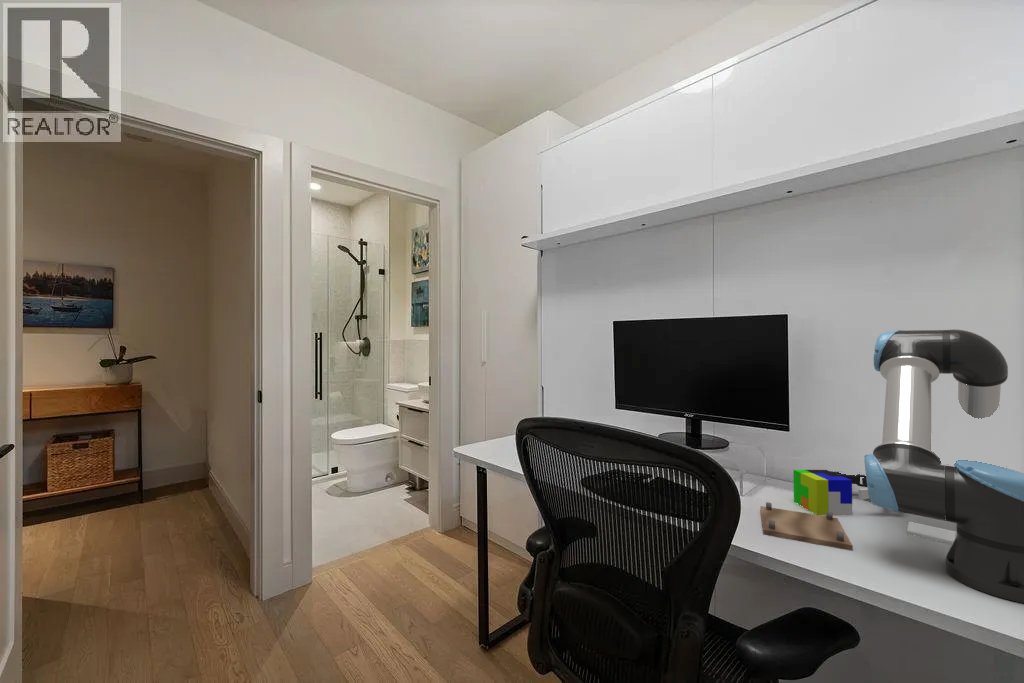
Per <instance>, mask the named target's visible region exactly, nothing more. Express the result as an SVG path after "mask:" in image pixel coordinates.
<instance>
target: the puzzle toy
mask: <svg viewBox="0 0 1024 683" xmlns="http://www.w3.org/2000/svg"><path fill="white" fill-rule="evenodd" d="M795 502H796V503H798V504H799V506H800V505H801V506H800V507H802V506H803V507H802V508H804V509H805V508H806V510H807V509H808V510H807V511H808V512H811V513H812V512H813V513H812V514H815V515H822V516H826V512H827V511H828V512H832V513H833V516H853V484H852V480H850V479H848V478H845V477H843V476H840V475H838V474H835V473H833V472H830V470H828V469H793V503H795ZM796 503H795V504H796ZM798 504H797V505H798Z"/></svg>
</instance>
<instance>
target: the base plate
mask: <svg viewBox="0 0 1024 683" xmlns="http://www.w3.org/2000/svg"><path fill="white" fill-rule="evenodd" d="M772 506H773V503H772V502H769V501H767V502H765V506H764V505H763V506H762V505H760V517H761V525H762V526H761V527H762V534H763V535H766V536H771V537H776V538H782V539H787V540H791V541H792V540H793V541H798V542H804V543H810V544H813V545H814V544H815V545H820V546H825V547H830V548H831V547H832V548H838V549H841V550H846V551H847V550H848V551H854V550H853V548H854V547H853V544H852V542H851V540H850V538H849V536H848V535H847V533H846V531H845V529H844V527H843V525H842V524H841V522H840V520H839V519H838V517H834V515H833V513H832V512H828V511H827V512H826V515H816V514H814V513H807V512H803V511H802V512H801V511H795V510H788V509H782V508H776V507H772Z"/></svg>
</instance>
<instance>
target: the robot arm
mask: <svg viewBox="0 0 1024 683" xmlns="http://www.w3.org/2000/svg"><path fill="white" fill-rule="evenodd" d="M873 367H874V370H875V371H877V372H879V374H880V375H881V376H882V377H883V379H885V381H886V382H885V383H886V384H885V385H886V386H885V399H884V413H883V423H882V424H883V427H882V440H881V444H878V445H877V446H875V447H874V449H873V450H872V453H869V454H864V456H863V458H864V460H863V461H864V468H865V469H864V470H865V474H861V475H860V474H857V475H856V476H855V475H846V474H841V473H839V472H840V471H834V472H833V471H830V470H829V471H830V472H833V473H835V474H838V475H840V476H843V477H845V478H848V479H850V480H852V485H857V486H858V487H863V488H859V489H858V499H859V500H869V501H870V503H871V504H873V505H874V506H877V507H878V508H883V509H887V510H891V511H892V512H896V513H898V512H899V513H905V514H909V515H914V516H919V517H925V518H929V519H933V520H938V521H944V522H950V523H954V524H956V532H957V535H956V538H955V540H954V542H953V544H951V545H950V548H949V550H948V552H947V553H946V555H945V559H944V561H945V562H944V564H945V566H944V569H945V571H946V573H947V574H948V575H949V576H951V577H952V578H953V579H955V580H957V581H958V582H960V583H963V585H966V586H968V587H970V588H973V589H974V590H977V591H980V592H982V593H985V594H989V595H992V596H995V597H997V598H1000V599H1001V598H1002V599H1005V600H1009V601H1013V602H1017V603H1021V604H1024V473H1023V472H1020V471H1018V470H1014V469H1011V468H1007V467H1006V468H1004V467H1000V466H996V465H992V464H987V463H982V462H977V461H968V460H958V461H956V463H955V464H954V465H946V464H942V463H941V461H940V458H939V457H938V456H937V455H936V454H935V453H934V452H932V451H931V432H932V383H933V382H935V381H936V380H938V378H939V376H940V374H941V375H943V374H944V375H945V374H949V375H950V374H951V375H952V376H953V378H954V380H955V381H957V382H958V383H957V384H958V385H957V388H958V389H957V390H958V391H957V394H958V395H957V396H958V397H957V401H958V400H959V403H960V405H961V407H962V409H963V410H964V411H965V412H966V413H967V414H969V415H971V416H972V417H974V418H978V419H979V418H981V419H982V418H985V417H990V416H991V415H993V413H994V412H995V411H996V410H997V408H998V406H999V407H1000V404H999V402H1000V400H1001V387H1002V384H1004V383H1006V381H1007V380H1008V375H1009V368H1008V367H1009V365H1008V363H1007V361H1006V359H1005V357H1004V355H1003V353H1002V351H1001V350H1000V349H999V348H998V347H997V346H995V344H994V343H992V342H991V341H990V340H988V339H986V338H985V337H983V336H982V335H980V334H977V333H975V332H971V331H968V330H964V329H963V330H962V329H933V330H932V329H930V330H929V329H927V330H924V329H922V330H914V329H913V330H899V329H898V330H890V331H884V332H881V333H880V334H879V335H878V337H877V338H876V342H875V345H874V353H873ZM966 384H967V385H966ZM865 475H866V476H865ZM860 477H864V478H862V480H861V481H860ZM861 482H862V483H861Z"/></svg>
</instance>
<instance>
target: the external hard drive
mask: <svg viewBox="0 0 1024 683" xmlns="http://www.w3.org/2000/svg"><path fill="white" fill-rule="evenodd" d="M906 534H907V535H909V534H910V535H911V536H913V535H915V537H918V536H919V538H922V537H923V538H922V539H926V538H927V540H931V539H932V540H931V541H935V540H937V541H936V542H939V541H942V542H941V543H943V542H946V543H945V544H948V543H950V544H949V545H952V544H953V542H954V540H955V538H956V535H957V531H955V530H950V529H945V528H940V527H938V526H937V527H936V526H932V525H928V524H923V523H918V522H914V521H908V524H907V529H906Z"/></svg>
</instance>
